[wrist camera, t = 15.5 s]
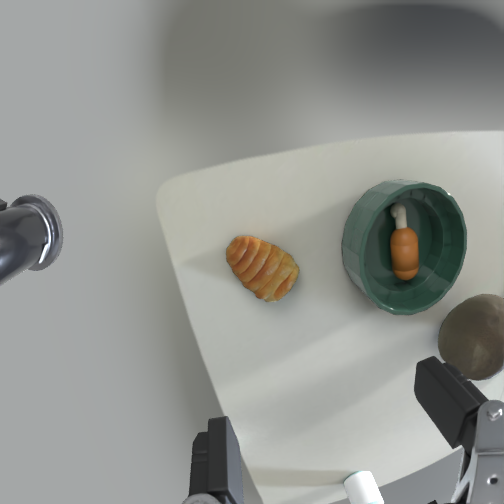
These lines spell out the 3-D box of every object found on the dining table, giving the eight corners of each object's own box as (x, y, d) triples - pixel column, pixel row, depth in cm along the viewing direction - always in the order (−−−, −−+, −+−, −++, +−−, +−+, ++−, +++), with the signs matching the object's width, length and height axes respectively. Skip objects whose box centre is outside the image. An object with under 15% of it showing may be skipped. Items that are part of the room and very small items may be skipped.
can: (341, 487, 58) (353, 523, 46) (344, 473, 56) (358, 512, 45) (367, 480, 58) (382, 515, 47) (372, 466, 56) (389, 503, 45)
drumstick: (381, 204, 40) (395, 209, 36) (405, 199, 40) (420, 203, 36) (388, 277, 43) (400, 287, 39) (410, 270, 43) (424, 280, 39)
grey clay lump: (470, 342, 49) (516, 382, 34) (416, 358, 48) (460, 408, 33) (486, 276, 45) (542, 307, 31) (431, 284, 44) (490, 325, 30)
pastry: (214, 261, 40) (213, 271, 37) (246, 220, 39) (248, 225, 36) (270, 301, 43) (274, 314, 39) (302, 263, 41) (309, 272, 38)
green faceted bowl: (319, 270, 42) (334, 288, 36) (375, 156, 38) (399, 156, 32) (406, 310, 45) (427, 329, 39) (455, 214, 41) (482, 223, 35)
